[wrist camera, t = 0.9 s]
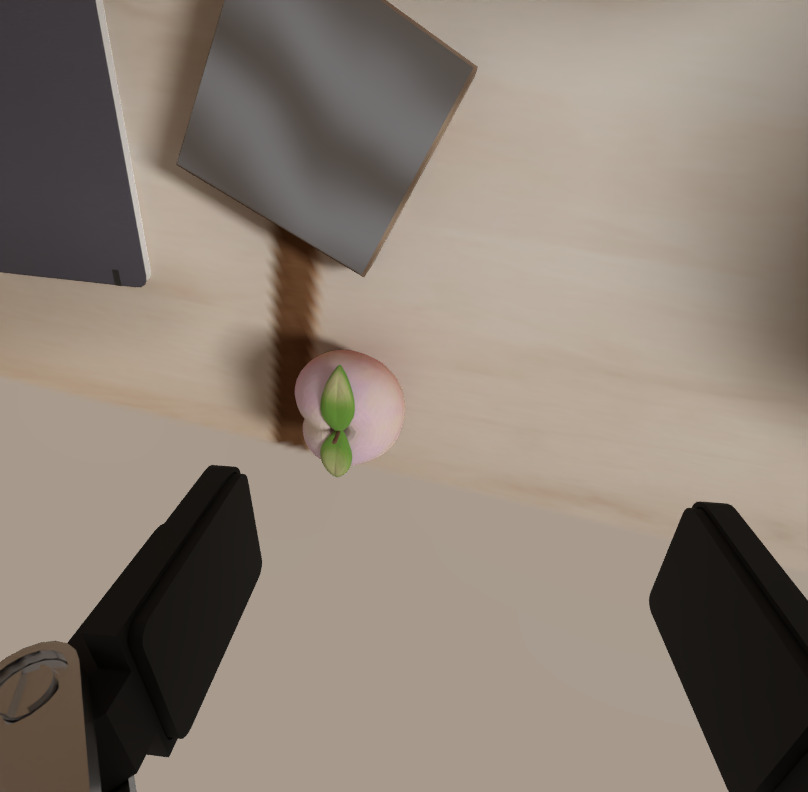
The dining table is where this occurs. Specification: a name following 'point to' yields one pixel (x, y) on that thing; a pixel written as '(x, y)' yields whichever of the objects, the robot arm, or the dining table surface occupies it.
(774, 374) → the dining table surface
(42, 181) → the notebook
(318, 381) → the decorative fruit
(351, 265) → the dock
